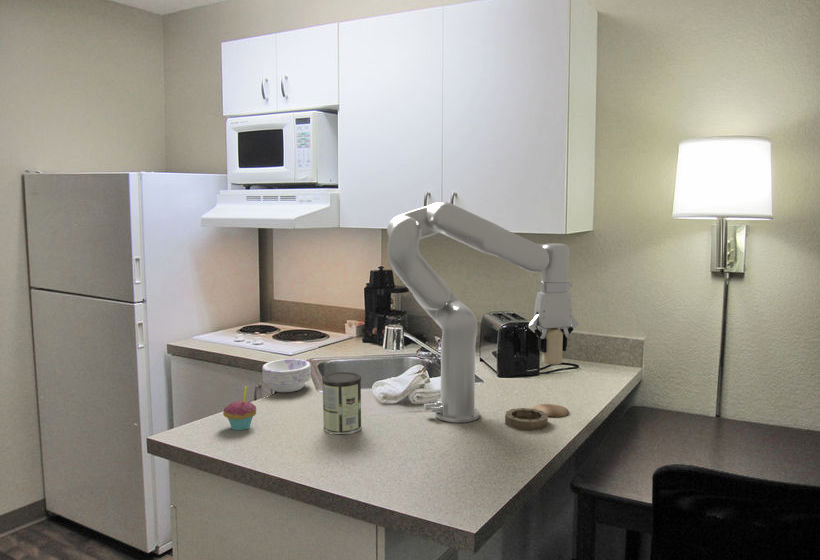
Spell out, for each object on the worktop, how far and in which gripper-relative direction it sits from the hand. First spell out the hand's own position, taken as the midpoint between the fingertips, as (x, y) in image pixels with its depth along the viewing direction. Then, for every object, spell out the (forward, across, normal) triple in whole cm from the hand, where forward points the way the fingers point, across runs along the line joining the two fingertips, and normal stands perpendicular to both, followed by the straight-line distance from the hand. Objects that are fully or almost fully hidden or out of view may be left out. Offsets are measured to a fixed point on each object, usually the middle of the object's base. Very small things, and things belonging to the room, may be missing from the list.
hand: (552, 350), depth 192 cm
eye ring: (+18, +11, +7) cm, 22 cm away
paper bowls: (+18, +70, -44) cm, 85 cm away
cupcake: (+18, +86, -11) cm, 89 cm away
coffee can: (+18, +60, -3) cm, 63 cm away
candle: (+4, 0, 0) cm, 4 cm away
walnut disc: (+18, 0, 0) cm, 18 cm away
